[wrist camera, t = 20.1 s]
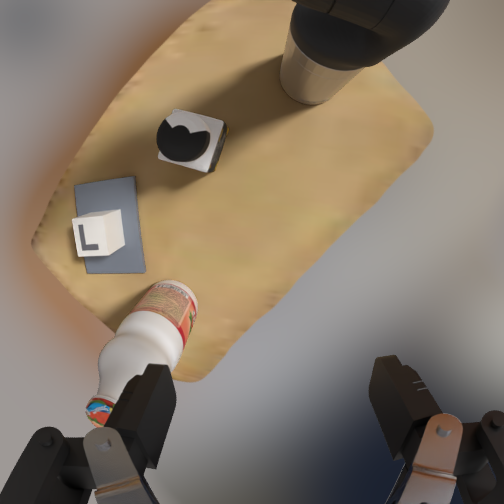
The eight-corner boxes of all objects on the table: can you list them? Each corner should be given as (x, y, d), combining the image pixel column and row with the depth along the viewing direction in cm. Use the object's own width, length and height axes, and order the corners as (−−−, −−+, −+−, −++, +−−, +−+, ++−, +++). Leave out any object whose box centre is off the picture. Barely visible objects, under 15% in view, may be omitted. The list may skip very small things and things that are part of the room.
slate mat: (76, 185, 44) (74, 185, 43) (135, 176, 44) (133, 176, 43) (89, 271, 48) (87, 273, 48) (146, 271, 48) (144, 272, 47)
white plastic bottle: (181, 269, 48) (105, 378, 21) (209, 315, 50) (168, 445, 23) (138, 290, 49) (51, 393, 22) (166, 333, 51) (107, 451, 24)
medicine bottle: (214, 172, 43) (199, 174, 32) (171, 159, 43) (142, 158, 31) (229, 127, 41) (219, 114, 30) (185, 116, 41) (161, 100, 29)
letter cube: (96, 247, 46) (77, 257, 40) (91, 212, 45) (71, 219, 39) (125, 245, 46) (108, 256, 40) (120, 209, 44) (102, 215, 38)
